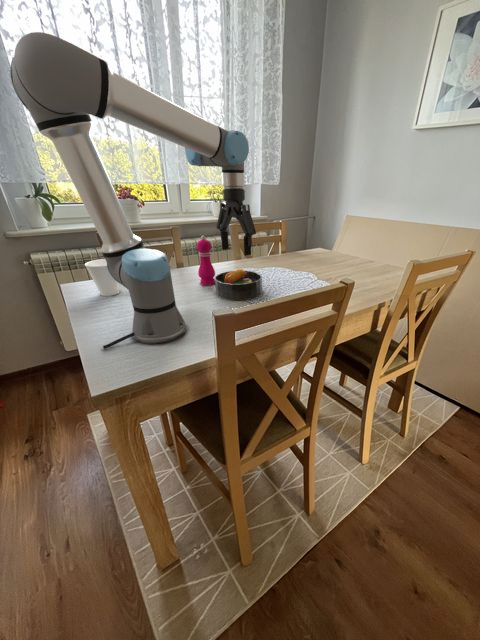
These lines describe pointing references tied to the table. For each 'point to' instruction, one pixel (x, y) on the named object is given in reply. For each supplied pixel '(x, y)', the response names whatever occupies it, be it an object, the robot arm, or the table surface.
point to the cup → (102, 277)
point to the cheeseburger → (236, 277)
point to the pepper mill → (205, 262)
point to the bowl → (239, 287)
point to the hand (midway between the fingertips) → (236, 252)
